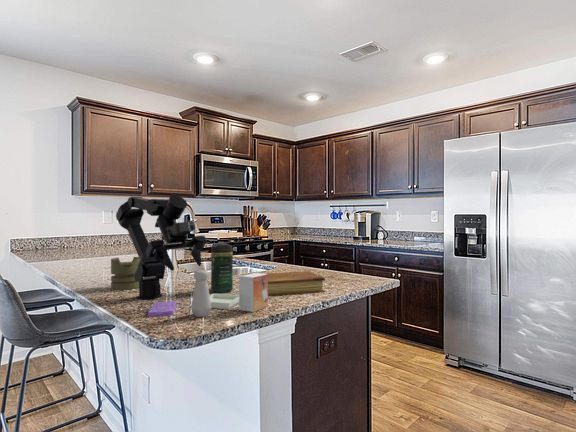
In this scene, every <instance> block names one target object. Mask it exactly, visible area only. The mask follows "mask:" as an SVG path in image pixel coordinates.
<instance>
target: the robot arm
mask: <svg viewBox="0 0 576 432" xmlns="http://www.w3.org/2000/svg"><path fill="white" fill-rule="evenodd" d="M187 207H188V203H187V200H185V199H184V198H183V197H181V196H179V195H178V194H177V193H170V195H169V198H168V199H166V198H164V199H163V198H162V199H161V198H144V197H143V196H130V197H129V198H128V199H127V201H125V202H124V203H123V204H121V205H120V206H119V207H118V209H117V211H116V214H115V217H116V218H115V219H116V220H117V221H118V224H119V225H120V227H121V228H123V229H125V230H126V231H127V233H128V234H129V237H130V239H131V241H132V244H133V246H134V248H135V250H136V253H137V257H139V258H140V260H139V263H138V268H137V270H136V272H135V274H134V277H135V281H138V282H139V289H138V293H139V294H138V296H136V299H141V300H153V299H156V298H159V297H161V296H163V293H161V282H160V280H164V277H165V273H166V272H165V271H166V268H167V269H169V270H171V271H174V270H175V268H174V264H173V262H172V259H171V258H170V255H169V253H168V250H169V251H170V250H181V249H189V251H190V255H191V256H192V258H193V260H194V261H195V263H196V264H197V265H198V266H199V267H201V265H202V255H201V252H202V250H203V249H204V247H205V245H206V244H207V242H208V240H207V238H206V236H205V235H193V236H192V238H191V240H188V241H186V239H188V234H189V233H192V232H193V231H195V230H196V226H195V223H194V221H193V220H186V221H182V222H177V221H176V220H178V219H179V220H180V218H181V217H182V215H183V213H184V211H185V209H186V208H187ZM144 211H146V214H148V215H150V216H151V217H157V218H156V222H155V223H154V227H155V228H159V230H160V232H161V233H160V234H161V235H162V236H161V237H160V238H161V239H154V240H150V241H149V240H148V239H147V236H146V235H145V232H144V229H143V227H142V226H141V222H142V220H143V216H144V214H145V213H144Z"/></svg>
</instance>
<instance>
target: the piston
mask: <svg viewBox="0 0 576 432" xmlns="http://www.w3.org/2000/svg"><path fill="white" fill-rule="evenodd" d="M139 260H140V258H139V256H133V259H132V261H121V260H120V257H115V258H111V259H110V274H111V275H112V276H111V277H110V281H111V283H110V289H112V290H111V291H113V290H129V291H133V290H132V289H135V290H139V282H138V281H135V277H134V274H135V272H136V270H137V268H138V263H139Z"/></svg>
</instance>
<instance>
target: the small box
mask: <svg viewBox="0 0 576 432" xmlns="http://www.w3.org/2000/svg"><path fill="white" fill-rule="evenodd" d="M238 295H239V304H238V308H239V311H243V312H251V313H255V312H257V311H260V310H262V309H266V307H267V308H268V307H269V296H268V274H266V273H257V272H253V273H249V274H245V275H239V276H238Z"/></svg>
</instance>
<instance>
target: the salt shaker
mask: <svg viewBox="0 0 576 432" xmlns="http://www.w3.org/2000/svg"><path fill="white" fill-rule="evenodd" d="M209 275H210V273H209V270H206V269H200V270H195V271H194V273H193V278H194V280H195V282H194V288H193V293H192V301H191V305H190V308H191V312H192V314H193V316H194V317H196V318H204V317H208V316H209V314H210V312H211V310H212V308H211V301H210V295H211V294H210V291H209V285H208V279H209V278H210V276H209Z"/></svg>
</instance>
